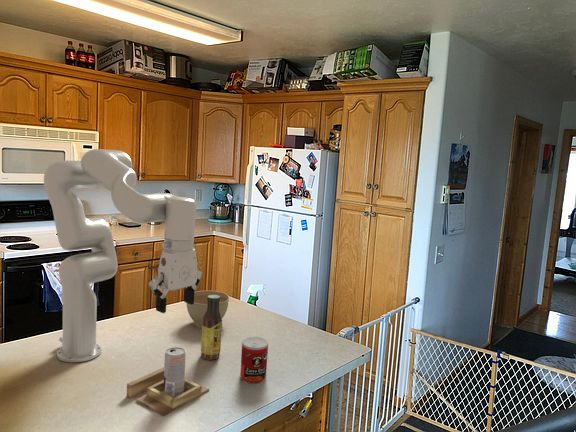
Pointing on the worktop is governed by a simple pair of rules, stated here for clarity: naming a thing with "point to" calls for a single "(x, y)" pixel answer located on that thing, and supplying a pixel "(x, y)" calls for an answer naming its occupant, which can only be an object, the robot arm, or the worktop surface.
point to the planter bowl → (205, 305)
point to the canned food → (254, 359)
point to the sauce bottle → (211, 329)
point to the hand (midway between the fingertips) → (175, 307)
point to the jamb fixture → (155, 392)
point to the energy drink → (174, 372)
